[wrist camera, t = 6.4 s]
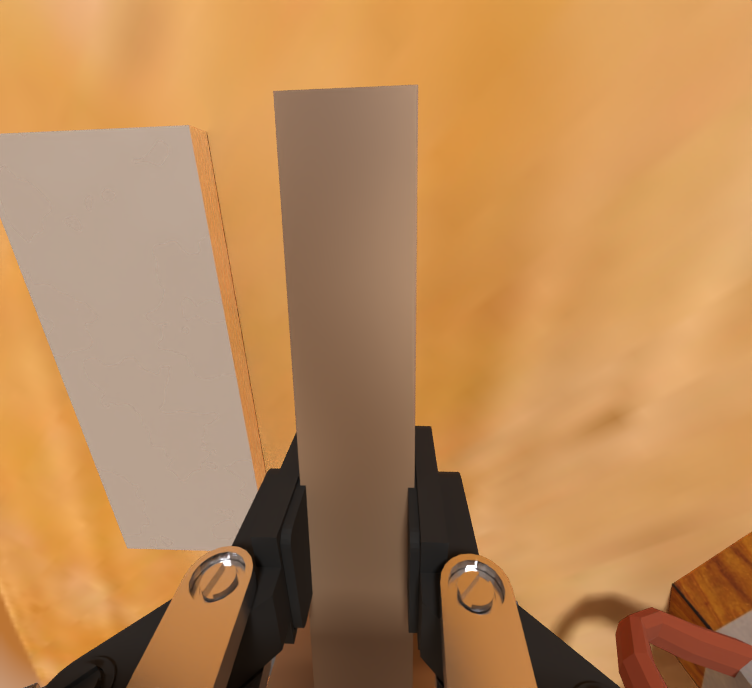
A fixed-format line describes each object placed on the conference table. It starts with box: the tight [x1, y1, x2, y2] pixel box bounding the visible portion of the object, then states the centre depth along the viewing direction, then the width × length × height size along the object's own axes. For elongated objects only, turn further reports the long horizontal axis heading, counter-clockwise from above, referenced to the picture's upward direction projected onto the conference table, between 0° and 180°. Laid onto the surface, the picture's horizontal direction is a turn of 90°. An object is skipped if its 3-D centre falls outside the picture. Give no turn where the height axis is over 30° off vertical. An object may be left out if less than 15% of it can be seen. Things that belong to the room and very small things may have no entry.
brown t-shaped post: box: [266, 85, 435, 688], centre depth 10 cm, size 6×17×4 cm, turn 1°
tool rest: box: [0, 125, 266, 551], centre depth 17 cm, size 8×20×1 cm, turn 2°
